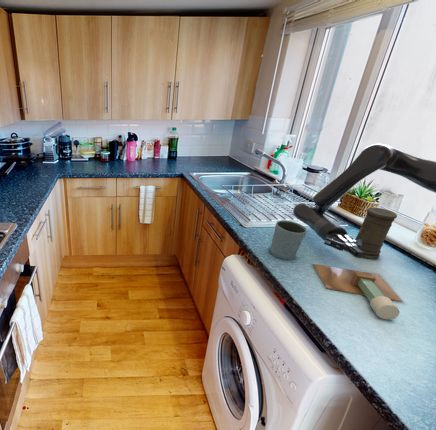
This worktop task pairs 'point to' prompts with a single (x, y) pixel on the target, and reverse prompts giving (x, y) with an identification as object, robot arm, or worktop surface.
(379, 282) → the brown flat board
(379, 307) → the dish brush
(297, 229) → the grey cup
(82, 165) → the worktop surface
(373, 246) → the container
